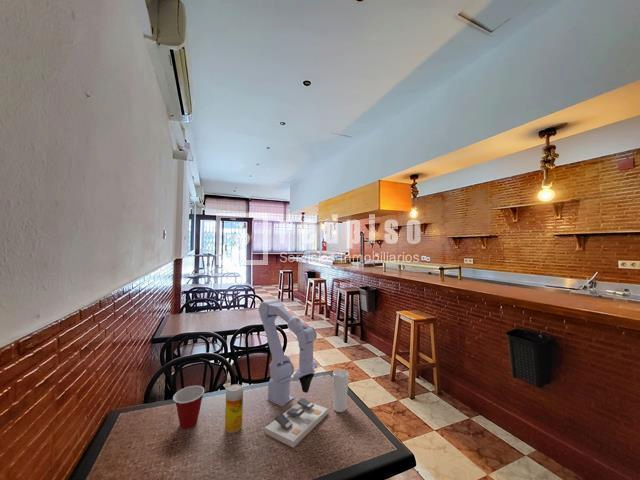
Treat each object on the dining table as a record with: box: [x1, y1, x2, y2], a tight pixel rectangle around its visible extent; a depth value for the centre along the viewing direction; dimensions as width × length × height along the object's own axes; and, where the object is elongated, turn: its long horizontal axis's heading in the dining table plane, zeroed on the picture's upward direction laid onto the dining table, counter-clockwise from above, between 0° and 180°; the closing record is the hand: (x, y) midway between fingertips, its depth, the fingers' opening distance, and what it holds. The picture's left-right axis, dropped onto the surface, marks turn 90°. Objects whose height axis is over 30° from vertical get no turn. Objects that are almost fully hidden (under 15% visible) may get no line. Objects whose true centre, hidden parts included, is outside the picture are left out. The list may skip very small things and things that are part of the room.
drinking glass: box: [331, 369, 350, 413], centre depth 115 cm, size 7×7×15 cm
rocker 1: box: [274, 412, 293, 431], centre depth 100 cm, size 6×3×1 cm, turn 57°
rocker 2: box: [286, 407, 304, 416], centre depth 106 cm, size 6×3×1 cm, turn 58°
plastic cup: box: [172, 385, 205, 430], centre depth 103 cm, size 11×11×12 cm
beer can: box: [224, 383, 244, 434], centre depth 101 cm, size 6×6×15 cm
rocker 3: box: [296, 397, 315, 410], centre depth 112 cm, size 6×3×1 cm, turn 58°
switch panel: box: [264, 402, 329, 448], centre depth 105 cm, size 13×23×2 cm, turn 148°
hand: (305, 391), depth 112 cm, fingers closed
